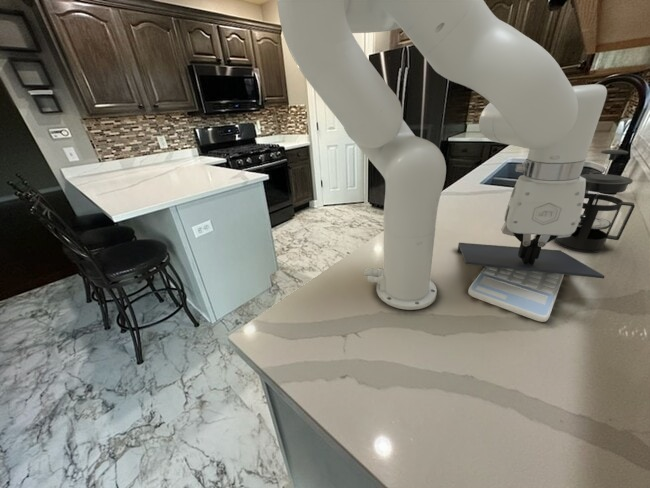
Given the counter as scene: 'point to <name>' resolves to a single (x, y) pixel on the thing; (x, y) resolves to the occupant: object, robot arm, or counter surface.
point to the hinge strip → (499, 246)
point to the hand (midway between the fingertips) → (526, 260)
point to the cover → (511, 260)
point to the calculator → (518, 290)
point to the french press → (591, 225)
